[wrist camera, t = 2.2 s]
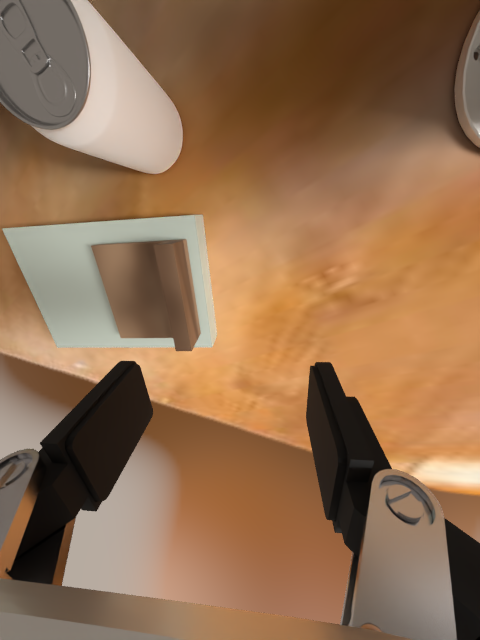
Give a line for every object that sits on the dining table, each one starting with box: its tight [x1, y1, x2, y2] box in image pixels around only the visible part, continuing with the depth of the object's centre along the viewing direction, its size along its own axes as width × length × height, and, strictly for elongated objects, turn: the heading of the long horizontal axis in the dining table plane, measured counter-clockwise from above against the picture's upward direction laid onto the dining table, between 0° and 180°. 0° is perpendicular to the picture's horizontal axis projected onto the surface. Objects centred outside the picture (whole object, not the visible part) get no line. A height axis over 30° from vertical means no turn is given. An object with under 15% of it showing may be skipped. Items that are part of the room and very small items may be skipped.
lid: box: [91, 239, 201, 351], centre depth 22 cm, size 9×10×4 cm
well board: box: [2, 215, 217, 348], centre depth 26 cm, size 20×14×3 cm
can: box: [0, 0, 183, 174], centre depth 16 cm, size 6×6×12 cm
